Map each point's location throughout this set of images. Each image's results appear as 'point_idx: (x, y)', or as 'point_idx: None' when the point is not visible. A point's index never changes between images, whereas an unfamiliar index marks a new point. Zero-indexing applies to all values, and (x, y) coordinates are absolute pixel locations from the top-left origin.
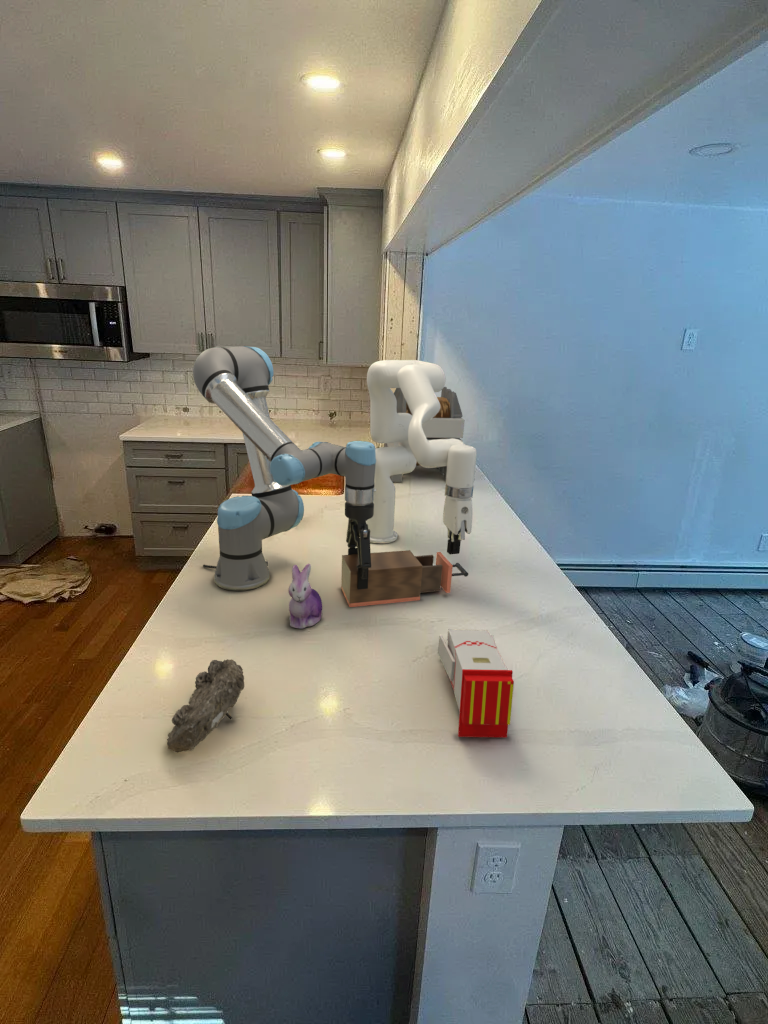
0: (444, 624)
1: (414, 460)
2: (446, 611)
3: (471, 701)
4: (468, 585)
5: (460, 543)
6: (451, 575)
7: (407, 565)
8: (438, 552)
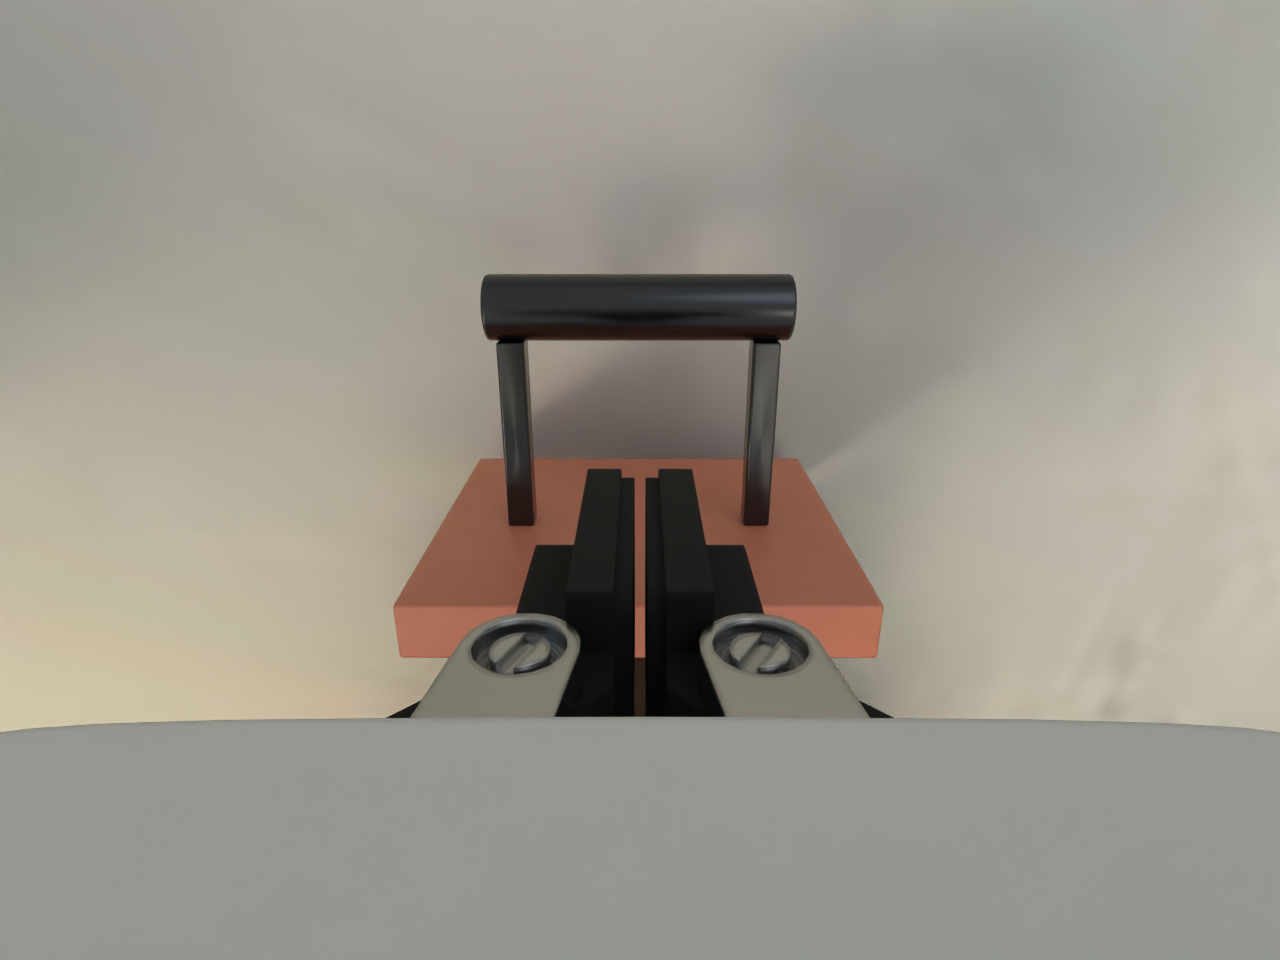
0: (1184, 647)
1: None
2: (1023, 569)
3: None
4: (631, 171)
5: (704, 553)
6: (844, 542)
7: None
8: (415, 638)
